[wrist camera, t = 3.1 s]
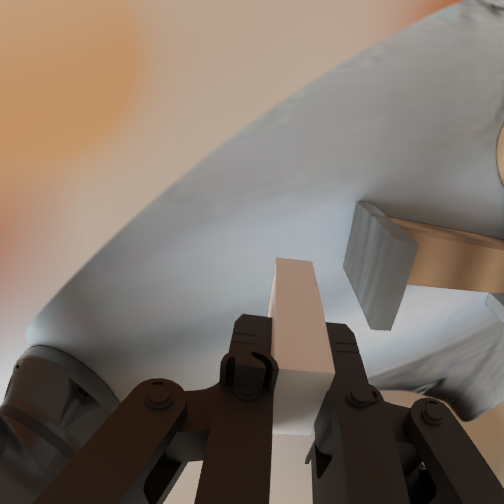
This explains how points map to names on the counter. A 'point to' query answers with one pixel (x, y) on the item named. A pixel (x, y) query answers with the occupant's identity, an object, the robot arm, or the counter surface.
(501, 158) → the coaster
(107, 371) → the counter surface
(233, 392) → the robot arm
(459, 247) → the sliding block
